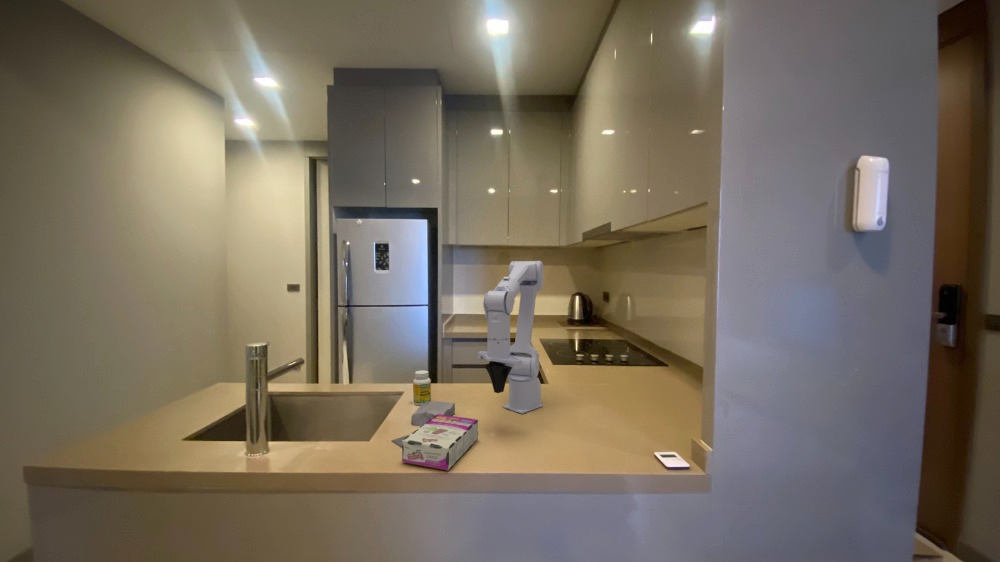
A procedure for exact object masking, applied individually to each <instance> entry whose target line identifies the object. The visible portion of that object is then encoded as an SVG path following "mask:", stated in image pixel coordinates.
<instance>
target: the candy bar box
mask: <svg viewBox="0 0 1000 562" xmlns="http://www.w3.org/2000/svg"><path fill="white" fill-rule="evenodd" d="M478 429H479V419H475V418H468V417H461V416H454V415H452V416H449V415H442V414H437V415H436V416H435V417H433V418H432V419H431V420H429V421H428V422H427V423H425V424H424V425H423V426H421V427H418V428H417V429H415V431H413V432H411V433H410V434H408V435H409V436H408V437H406V438H405V439H404V440H402V449H401V450H402V451H401V452H402V453H401V454H402V456H401V462H403V463H407V464H412V465H419V466H424V467H429V468H432V469H433V468H434V469H438V470H443V471H444V470H445V471H449V470H450V469H452V467H453V466H454V464H456V463H457V462H458V461H459V459H460V458H461V457H462V456H463V455H464V454H465V453H466V452H467V451H468V449H469V448H470V447H471V446H473V444H474V443H475V442H476V441H477V440H478V438H479V432H478V431H479V430H478Z"/></svg>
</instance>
